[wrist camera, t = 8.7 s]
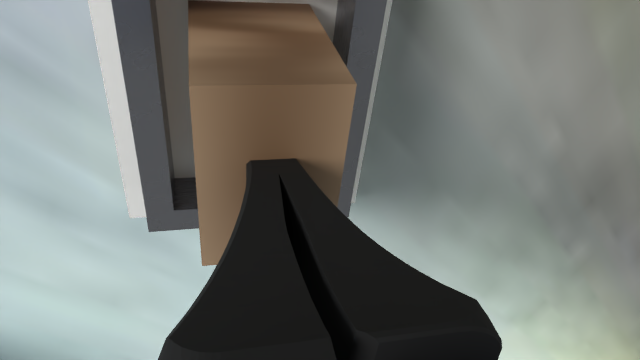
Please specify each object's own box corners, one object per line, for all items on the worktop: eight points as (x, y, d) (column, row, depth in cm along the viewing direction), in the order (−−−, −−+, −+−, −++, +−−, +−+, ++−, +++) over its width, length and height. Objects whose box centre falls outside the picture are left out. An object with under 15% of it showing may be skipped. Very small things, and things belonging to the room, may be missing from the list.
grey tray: (131, 202, 21) (125, 252, 19) (73, -114, 14) (50, -96, 12) (349, 189, 23) (367, 232, 21) (397, -89, 16) (432, -70, 14)
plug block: (198, 153, 19) (202, 265, 15) (187, 0, 15) (188, 85, 11) (297, 149, 20) (329, 254, 15) (309, 3, 16) (356, 84, 12)
